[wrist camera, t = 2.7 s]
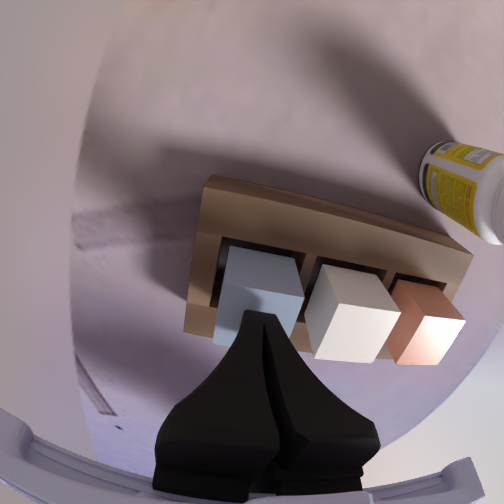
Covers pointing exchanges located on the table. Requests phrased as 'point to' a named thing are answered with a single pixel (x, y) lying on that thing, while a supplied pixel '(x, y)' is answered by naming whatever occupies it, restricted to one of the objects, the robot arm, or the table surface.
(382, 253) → the key block
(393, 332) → the red key
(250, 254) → the blue key
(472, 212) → the supplement bottle
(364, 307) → the white key
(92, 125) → the table surface
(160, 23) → the table surface
